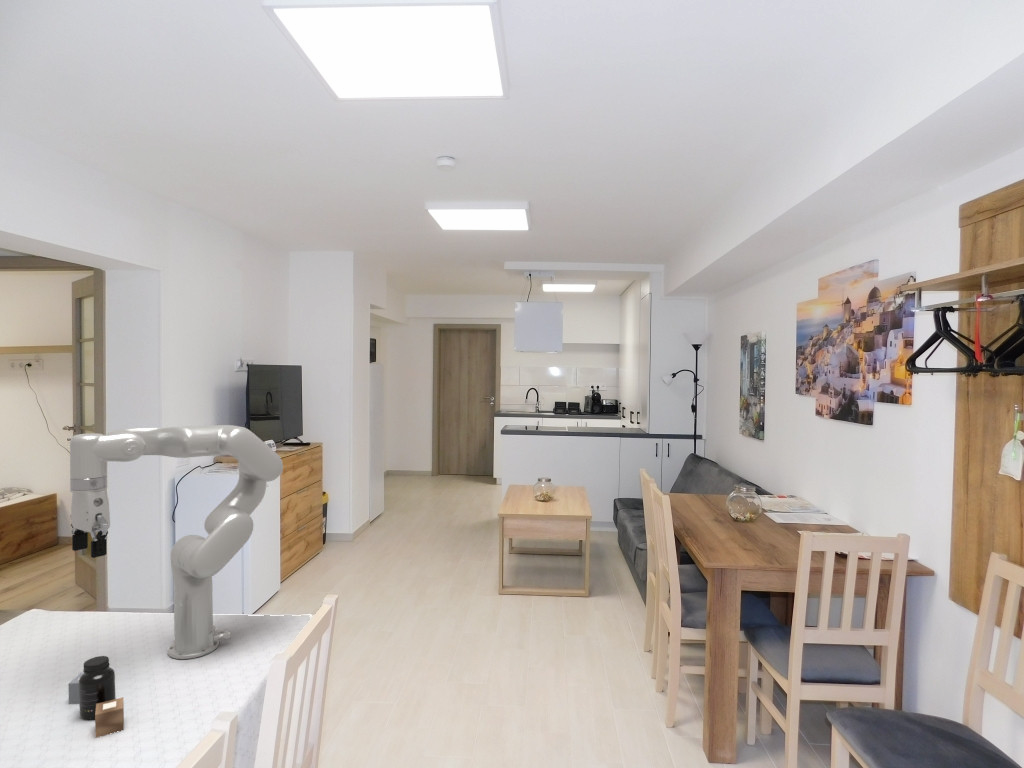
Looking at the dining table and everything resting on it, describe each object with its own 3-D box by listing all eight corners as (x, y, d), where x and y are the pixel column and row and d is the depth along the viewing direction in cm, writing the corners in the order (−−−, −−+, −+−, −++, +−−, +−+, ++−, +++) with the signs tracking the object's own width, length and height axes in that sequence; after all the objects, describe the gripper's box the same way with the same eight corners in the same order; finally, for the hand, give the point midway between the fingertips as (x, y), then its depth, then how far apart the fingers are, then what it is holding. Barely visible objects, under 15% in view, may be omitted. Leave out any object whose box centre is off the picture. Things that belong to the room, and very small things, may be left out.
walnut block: (123, 719, 135) (123, 696, 135) (123, 730, 131) (123, 707, 131) (96, 726, 133) (96, 703, 133) (95, 738, 128) (95, 714, 128)
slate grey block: (103, 691, 147) (103, 670, 146) (91, 703, 142) (91, 681, 141) (81, 693, 146) (80, 672, 146) (68, 704, 141) (68, 683, 141)
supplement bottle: (91, 704, 141) (90, 653, 141) (121, 703, 142) (121, 652, 141) (72, 721, 134) (71, 668, 134) (104, 720, 135) (103, 667, 134)
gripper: (123, 485, 148) (123, 555, 148) (89, 478, 157) (89, 543, 157) (88, 490, 141) (88, 563, 142) (55, 482, 150) (56, 550, 151)
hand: (89, 552), depth 149 cm, fingers open, 9 cm apart
